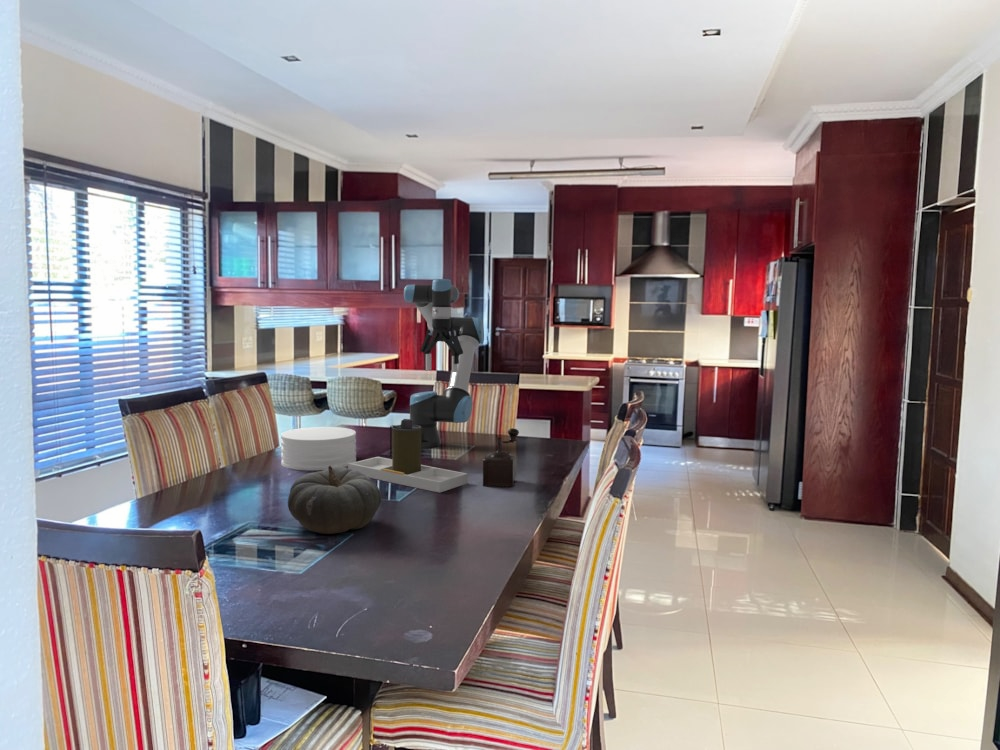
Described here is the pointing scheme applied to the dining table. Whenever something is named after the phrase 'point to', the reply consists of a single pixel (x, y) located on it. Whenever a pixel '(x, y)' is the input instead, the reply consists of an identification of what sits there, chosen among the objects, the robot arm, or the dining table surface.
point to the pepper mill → (500, 465)
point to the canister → (405, 447)
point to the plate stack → (318, 448)
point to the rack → (410, 475)
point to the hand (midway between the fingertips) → (441, 371)
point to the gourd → (334, 500)
